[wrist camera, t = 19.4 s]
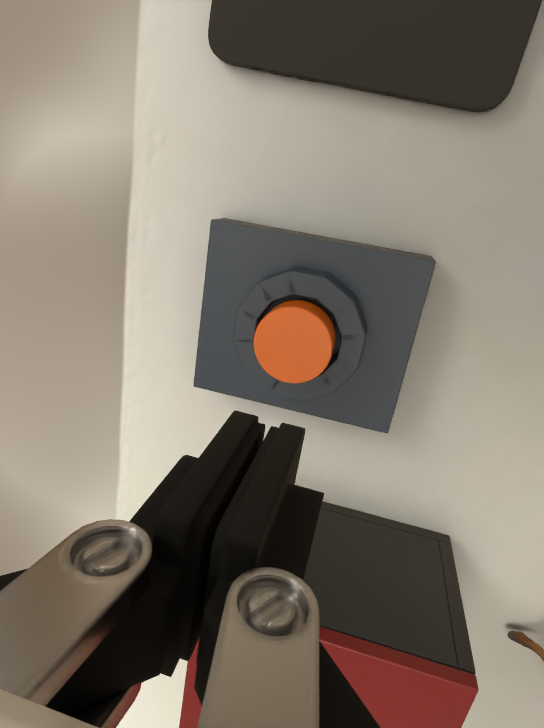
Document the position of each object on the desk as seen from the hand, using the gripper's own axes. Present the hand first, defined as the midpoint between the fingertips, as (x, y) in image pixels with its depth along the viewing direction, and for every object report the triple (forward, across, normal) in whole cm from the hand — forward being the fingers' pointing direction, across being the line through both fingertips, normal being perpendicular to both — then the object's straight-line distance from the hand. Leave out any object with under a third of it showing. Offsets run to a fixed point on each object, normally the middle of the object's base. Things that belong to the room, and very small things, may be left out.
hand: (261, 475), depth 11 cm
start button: (+15, +2, +1) cm, 15 cm away
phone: (+19, +2, -15) cm, 24 cm away
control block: (+18, +2, +1) cm, 19 cm away
